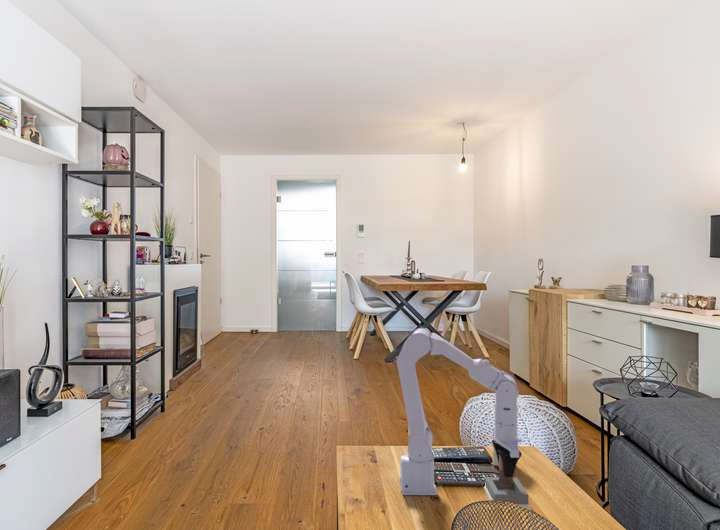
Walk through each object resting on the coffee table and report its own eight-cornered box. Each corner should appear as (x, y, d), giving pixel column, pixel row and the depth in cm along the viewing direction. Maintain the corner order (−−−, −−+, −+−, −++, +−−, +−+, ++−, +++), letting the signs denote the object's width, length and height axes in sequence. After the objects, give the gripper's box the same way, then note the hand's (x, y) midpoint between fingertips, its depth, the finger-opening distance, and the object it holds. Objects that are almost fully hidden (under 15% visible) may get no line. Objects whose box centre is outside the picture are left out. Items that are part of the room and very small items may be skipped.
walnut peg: (501, 485, 111) (501, 458, 111) (497, 478, 115) (497, 452, 115) (515, 485, 111) (515, 458, 111) (510, 478, 115) (510, 452, 115)
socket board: (495, 511, 107) (495, 498, 107) (483, 486, 119) (483, 474, 119) (531, 512, 107) (531, 498, 107) (515, 486, 119) (515, 474, 119)
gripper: (531, 432, 106) (531, 487, 106) (512, 411, 120) (512, 459, 120) (502, 432, 106) (503, 486, 106) (486, 411, 120) (487, 459, 120)
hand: (506, 472), depth 113 cm, fingers closed on walnut peg, 4 cm apart
